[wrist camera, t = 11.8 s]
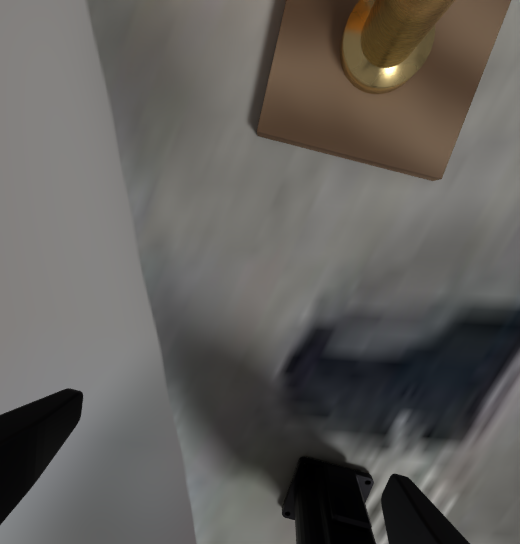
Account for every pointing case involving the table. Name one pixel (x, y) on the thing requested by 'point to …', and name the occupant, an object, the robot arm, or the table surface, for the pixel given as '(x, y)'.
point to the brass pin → (388, 41)
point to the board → (376, 107)
